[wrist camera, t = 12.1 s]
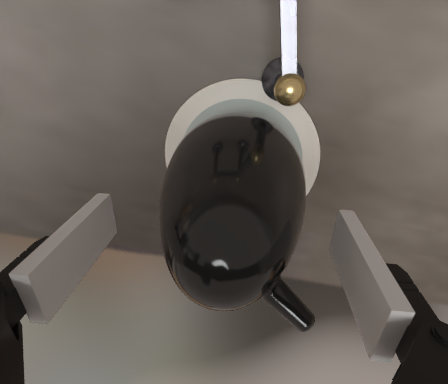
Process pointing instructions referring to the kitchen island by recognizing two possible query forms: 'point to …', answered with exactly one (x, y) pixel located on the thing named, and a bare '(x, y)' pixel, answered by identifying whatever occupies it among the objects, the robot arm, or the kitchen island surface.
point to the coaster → (253, 104)
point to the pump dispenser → (235, 215)
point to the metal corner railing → (285, 62)
